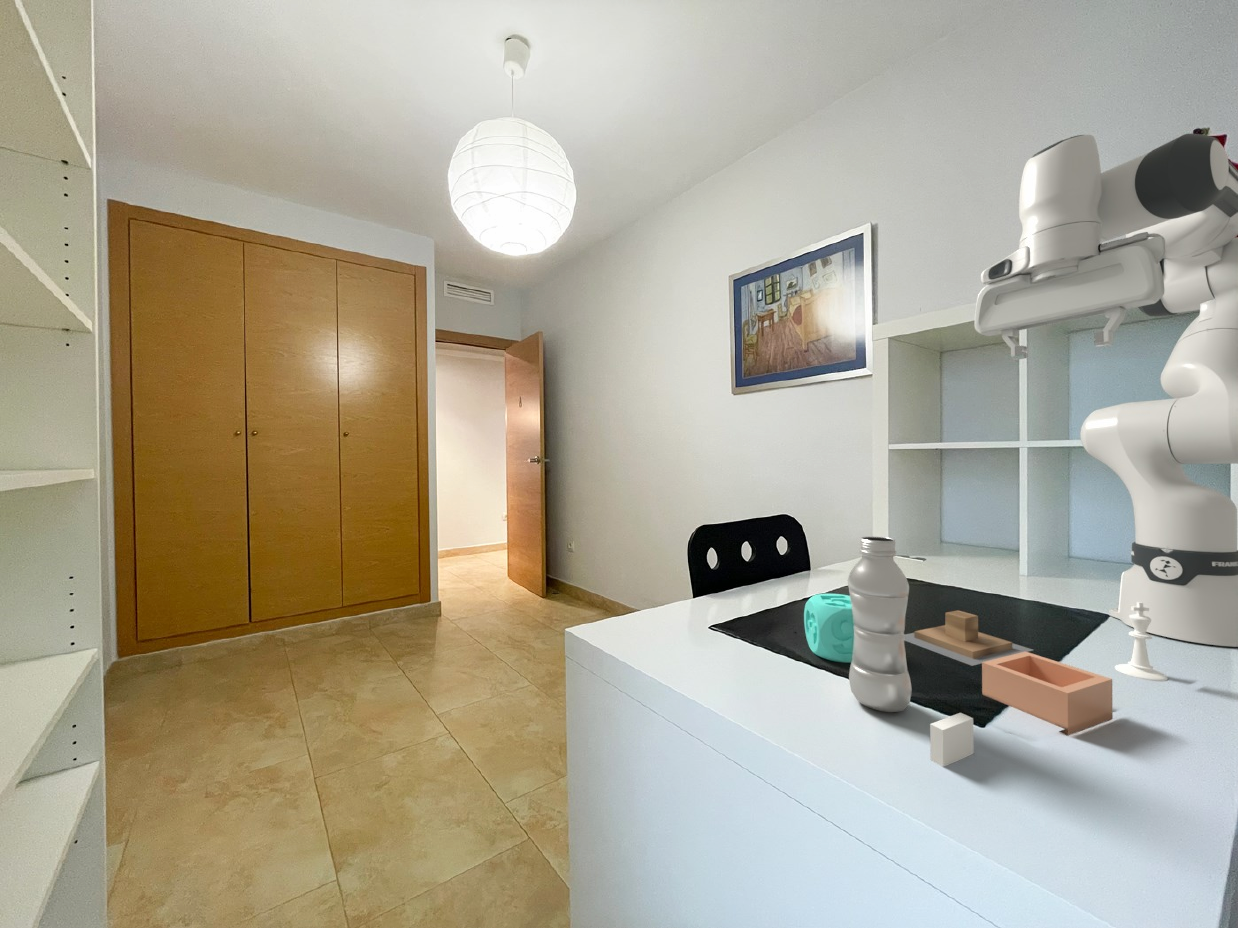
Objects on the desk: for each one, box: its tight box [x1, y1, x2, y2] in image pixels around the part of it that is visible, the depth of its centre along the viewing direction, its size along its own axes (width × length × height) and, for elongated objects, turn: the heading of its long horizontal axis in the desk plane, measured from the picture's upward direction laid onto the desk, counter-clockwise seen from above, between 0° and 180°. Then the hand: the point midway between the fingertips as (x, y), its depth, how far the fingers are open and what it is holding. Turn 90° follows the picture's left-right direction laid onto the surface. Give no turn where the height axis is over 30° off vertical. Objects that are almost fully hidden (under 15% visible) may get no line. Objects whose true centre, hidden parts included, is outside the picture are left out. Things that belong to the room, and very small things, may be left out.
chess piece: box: [1114, 602, 1169, 682], centre depth 64 cm, size 5×5×10 cm
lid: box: [913, 610, 1013, 659], centre depth 75 cm, size 9×9×4 cm
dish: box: [981, 652, 1114, 736], centre depth 56 cm, size 8×8×4 cm
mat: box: [904, 632, 1035, 667], centre depth 75 cm, size 14×12×1 cm
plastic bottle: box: [847, 536, 913, 713], centre depth 58 cm, size 6×7×20 cm
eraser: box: [929, 712, 974, 768], centre depth 48 cm, size 1×5×4 cm, turn 115°
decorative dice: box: [803, 593, 854, 664], centre depth 74 cm, size 8×8×8 cm
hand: (1059, 352), depth 70 cm, fingers open, 8 cm apart
